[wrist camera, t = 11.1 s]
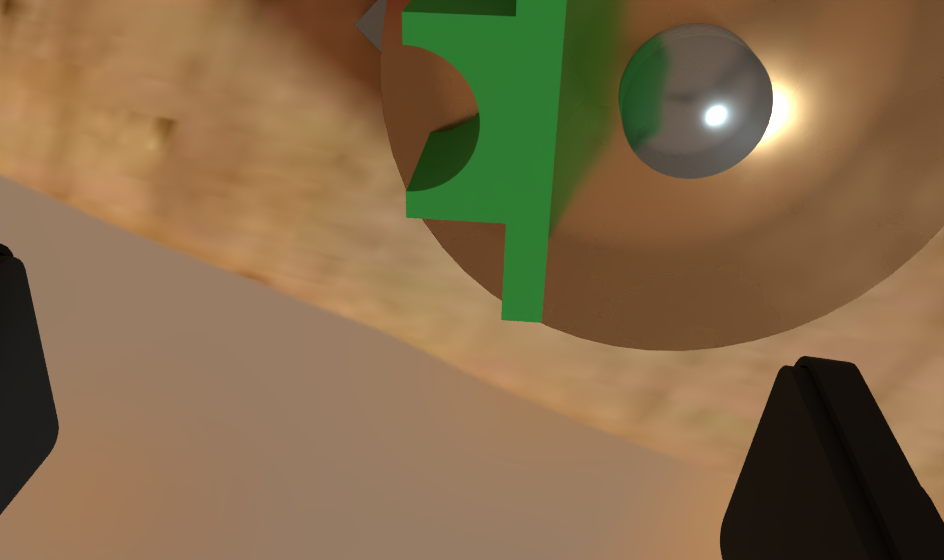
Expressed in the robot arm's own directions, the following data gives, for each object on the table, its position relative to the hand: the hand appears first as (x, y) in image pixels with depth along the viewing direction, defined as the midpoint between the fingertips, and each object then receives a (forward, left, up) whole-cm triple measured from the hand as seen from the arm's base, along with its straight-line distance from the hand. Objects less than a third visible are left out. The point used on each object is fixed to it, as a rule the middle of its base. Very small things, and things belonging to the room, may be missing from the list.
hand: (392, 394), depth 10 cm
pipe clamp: (0, 0, -15) cm, 15 cm away
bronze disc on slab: (-4, +4, -23) cm, 24 cm away
